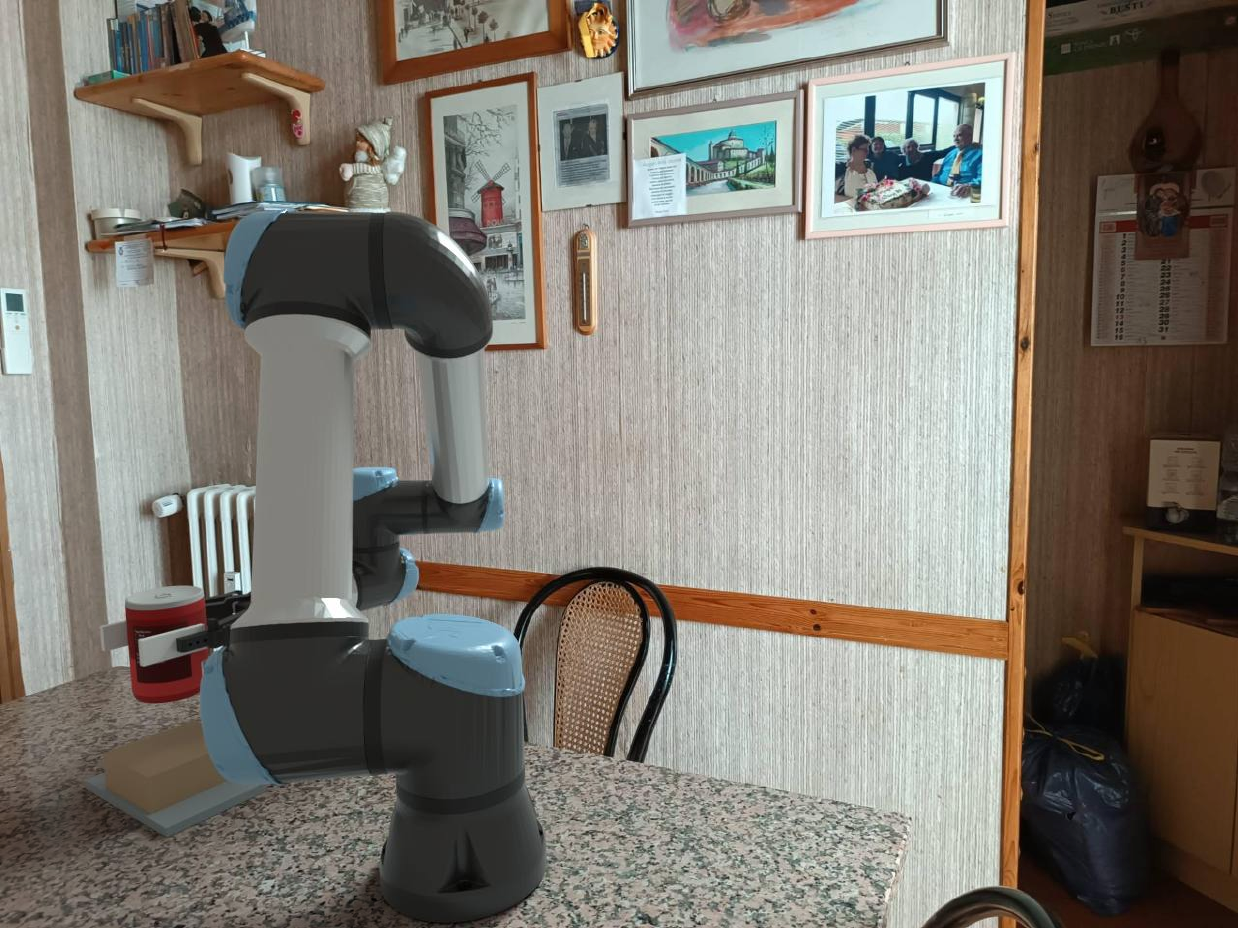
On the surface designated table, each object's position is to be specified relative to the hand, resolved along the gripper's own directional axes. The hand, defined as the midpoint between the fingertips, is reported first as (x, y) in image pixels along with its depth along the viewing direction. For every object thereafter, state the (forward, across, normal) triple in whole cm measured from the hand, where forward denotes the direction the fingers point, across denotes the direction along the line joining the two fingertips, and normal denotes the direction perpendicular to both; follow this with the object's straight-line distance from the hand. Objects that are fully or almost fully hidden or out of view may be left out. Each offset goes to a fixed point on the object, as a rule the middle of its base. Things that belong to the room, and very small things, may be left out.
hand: (121, 645), depth 84 cm
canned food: (-5, 0, -7) cm, 8 cm away
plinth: (-4, 0, -18) cm, 18 cm away
